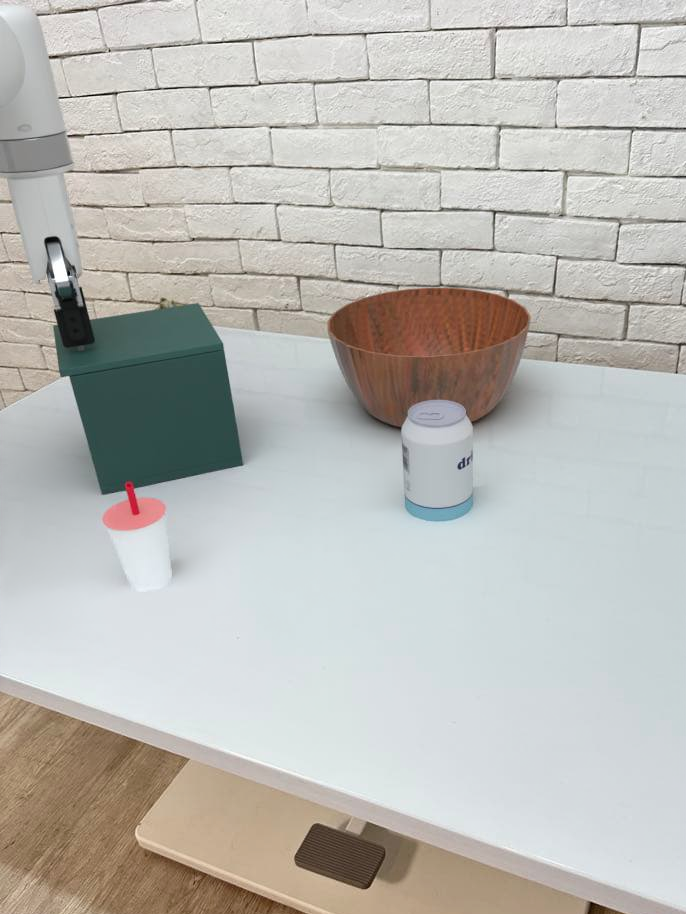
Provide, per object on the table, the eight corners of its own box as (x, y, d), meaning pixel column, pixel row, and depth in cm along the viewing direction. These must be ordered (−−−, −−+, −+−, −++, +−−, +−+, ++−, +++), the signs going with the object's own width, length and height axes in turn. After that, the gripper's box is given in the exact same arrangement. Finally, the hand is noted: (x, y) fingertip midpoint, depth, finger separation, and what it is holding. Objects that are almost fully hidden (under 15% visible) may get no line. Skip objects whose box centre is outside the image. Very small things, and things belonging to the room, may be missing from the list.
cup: (185, 607, 77) (158, 492, 70) (124, 617, 76) (91, 503, 70) (184, 573, 81) (158, 463, 75) (126, 583, 81) (95, 472, 74)
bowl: (427, 470, 96) (424, 375, 90) (296, 407, 112) (285, 322, 106) (567, 402, 110) (573, 315, 104) (433, 353, 126) (431, 276, 119)
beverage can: (466, 540, 84) (465, 430, 78) (398, 533, 86) (392, 425, 79) (477, 504, 90) (478, 399, 83) (414, 498, 91) (409, 394, 85)
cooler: (102, 495, 95) (69, 377, 87) (91, 439, 107) (62, 331, 99) (243, 464, 99) (224, 350, 92) (218, 415, 111) (199, 309, 103)
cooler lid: (60, 377, 87) (46, 324, 84) (54, 331, 99) (41, 283, 96) (224, 349, 92) (215, 298, 89) (199, 309, 103) (191, 262, 100)
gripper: (-10, 146, 88) (39, 316, 98) (-13, 174, 75) (43, 368, 85) (66, 139, 90) (106, 306, 100) (76, 165, 77) (121, 355, 87)
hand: (77, 333), depth 92 cm, fingers closed on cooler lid, 6 cm apart
